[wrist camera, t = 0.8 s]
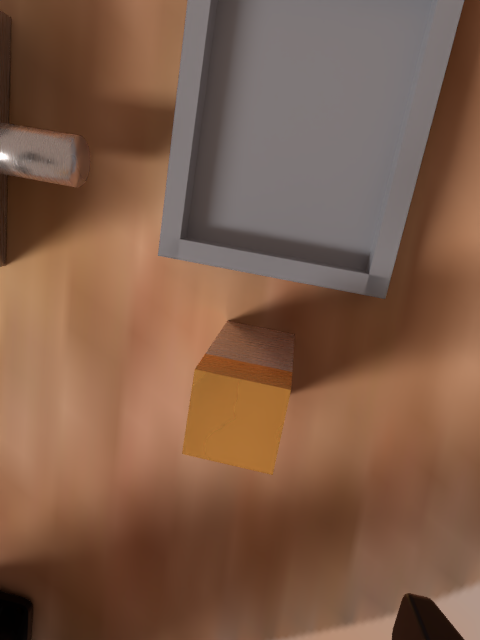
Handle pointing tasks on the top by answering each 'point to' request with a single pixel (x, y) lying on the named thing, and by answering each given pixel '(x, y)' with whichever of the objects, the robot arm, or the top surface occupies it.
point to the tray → (303, 135)
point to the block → (241, 397)
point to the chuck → (33, 146)
